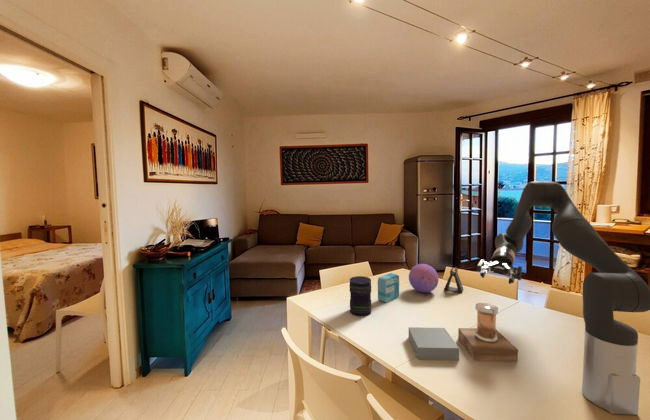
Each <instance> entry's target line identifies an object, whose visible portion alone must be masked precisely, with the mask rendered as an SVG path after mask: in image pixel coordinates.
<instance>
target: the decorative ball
mask: <svg viewBox="0 0 650 420" xmlns="http://www.w3.org/2000/svg"><path fill="white" fill-rule="evenodd" d="M408 280H409V284H410V286H411V287H412V288H413V289H414V290H416V291H417V292H420V293H424V294H425V293H430V292H433V291H434V290H435V289H436V288H437V286H438V284H439V274H438V273H437V270H436V269H435V268H434V267H433V266H431V265H429V264H427V263H418V264H416V265H414V266H413V267H412V268H411V269H410V271H409V274H408Z"/></svg>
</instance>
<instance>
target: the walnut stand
mask: <svg viewBox="0 0 650 420" xmlns="http://www.w3.org/2000/svg"><path fill="white" fill-rule="evenodd" d="M457 330H458V335H457V337H458V340H459V341H460V343H461V345H463V347H464V348H465V350H467V352H468V353H469V354H470V356H471V357H472V358H473V360H474V361H478V362H479V361H481V362H482V361H483V362H484V361H485V362H518V361H519V360H518V359H519V358H518V356H519V349H518V347H516V346H515V345H514V344H513V343H511V341H509V340H508V339H507V338H506V337H505V336H504V335H503V334H502V333H500V332H499V331H498V330H497V329H496V333H495V334H496V335H497V337H498V339H497V342H496V343H485V342H482V341H480V340H478V339H477V338H476V337H475V331H476V330H477V327H476V328H473V327H471V328H469V327H458V329H457Z"/></svg>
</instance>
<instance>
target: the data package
mask: <svg viewBox="0 0 650 420" xmlns="http://www.w3.org/2000/svg"><path fill="white" fill-rule="evenodd" d="M399 296H400V275H399V274H396V273H392V272H389V273H387V274H384V275H381V276H379V277H378V278H377V299H378V301H380V302H384V303H386V304H387V303H389V302H391V301H393V300H396V299H397V298H399Z"/></svg>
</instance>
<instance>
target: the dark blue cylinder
mask: <svg viewBox="0 0 650 420" xmlns="http://www.w3.org/2000/svg"><path fill="white" fill-rule="evenodd" d="M371 294H372V279H371V278H370V277H367V276H361V275H358V276H352V277H350V278H349V295H350V299H349V308H350V310H349V313H350V314H351V315H353V316H355V317H361V316H362V317H363V318H364V317H367V316H370V315H371V314H372V299H371V297H372V296H371Z"/></svg>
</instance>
